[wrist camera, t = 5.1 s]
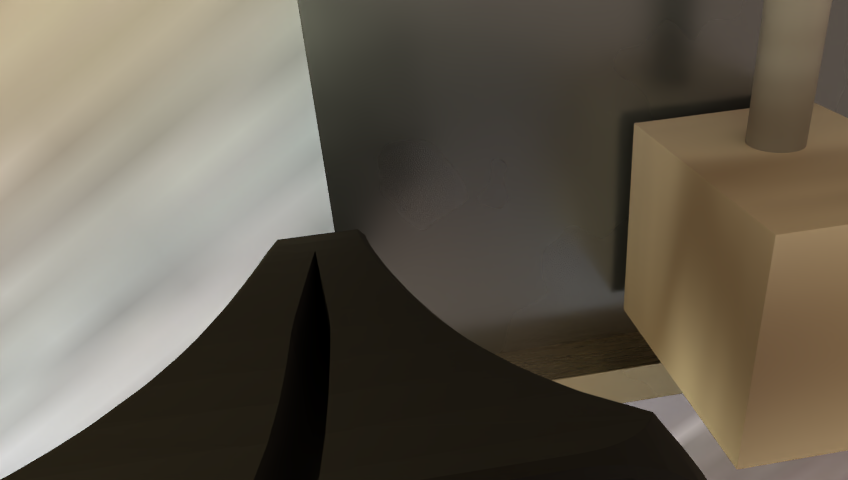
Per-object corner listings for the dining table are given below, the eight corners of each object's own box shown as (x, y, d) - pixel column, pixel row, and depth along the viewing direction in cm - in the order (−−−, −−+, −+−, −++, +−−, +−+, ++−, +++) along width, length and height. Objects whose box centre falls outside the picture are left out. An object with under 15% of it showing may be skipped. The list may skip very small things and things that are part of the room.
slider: (777, 285, 13) (942, 433, 10) (623, 309, 13) (737, 469, 10) (892, -377, 9) (1273, -536, 5) (660, -359, 9) (900, -519, 5)
